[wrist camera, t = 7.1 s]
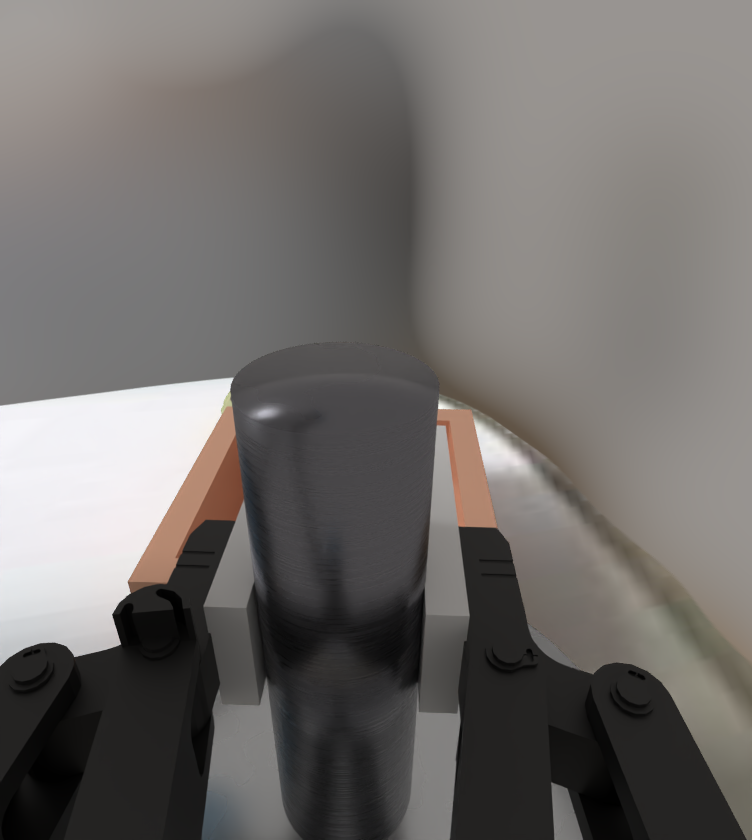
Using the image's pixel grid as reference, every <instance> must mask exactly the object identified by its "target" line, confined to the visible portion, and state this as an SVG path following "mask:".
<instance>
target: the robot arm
mask: <svg viewBox="0 0 752 840" xmlns="http://www.w3.org/2000/svg"><path fill="white" fill-rule="evenodd" d="M112 616H113V619H114V622H115V626H116V629H117V632H118V635H119V639H120V642H121V645H119V646H117V647H114V648H110V649H107V650H104V651H99V652H95V653H91V654H87V655H82V656H78V657H74V656H73V654H72V652H71V651H70V650H69V649H68V648H67V647H66V646H64V645H61V644H58V643H40V644H37V645H34V646H31V647H28V648H25V649H23V650H21V651H20V652H18V653H16V654H15V655H13V656H11V657H10V658H8V659H7V660H6V661H5V662H4V663H3V664H2V665H1V666H0V840H201V838H202V829H203V821H204V813H205V804H206V796H207V788H208V779H209V771H210V763H211V754H212V746H213V738H214V730H215V725H214V716H213V711H212V709H213V706H214V702H215V699H216V696H217V693H218V689H219V691H220V696H221V702H222V704H233V705H257V706H260V703H261V698H262V694H263V689H264V685H265V681H266V669H265V661H264V653H263V645H262V637H261V630H260V622H259V614H258V606H257V598H256V590H255V582H254V574H253V566H252V559H251V551H250V543H249V535H248V527H247V519H246V511H245V503H244V501H243V503H242V506H241V508H240V511H239V514H238V516H237V519H236V521H231V520H205V521H204V522H203V523H202V524H201V525H199V526H198V527H197V528H196V529H195V530H194V531H193V532H192V533H191V534H190V535H189V538H188V540H187V542H186V544H185V546H184V548H183V550H182V554H181V555H180V557H179V559H178V561H177V563H176V568H174V570H173V572H172V574H171V576H170V578H169V580H168V582H167V584H155V585H151V586H146V587H143V588H141V589H139V590H137V591H135V592H133V593H131V594H129V595H128V596H127V597H126V598H125V599H123V600H122V601H121V602H120V603H119V604H118V606H117V607H116V609H115V611H114V613H113V614H112ZM418 701H419V712H428V713H452V714H457V713H458V705H459V710H460V729H459V736H458V744H457V752H456V759H455V761H456V772H455V784H454V796H453V808H452V820H451V832H450V840H555V839H554V821H553V803H552V785H551V782H552V783H555V784H557V785H560V786H562V787H565V788H567V789H568V792H569V796H570V799H571V802H572V805H573V809H574V812H575V815H576V818H577V821H578V825H579V828H580V831H581V834H582V838H583V840H747V839H746V838H745V836H744V834H743V832H742V830H741V828H740V826H739V824H738V822H737V820H736V819H735V817H734V815H733V813H732V811H731V809H730V807H729V805H728V803H727V801H726V800H725V798H724V796H723V794H722V792H721V790H720V788H719V786H718V784H717V782H716V781H715V779H714V777H713V775H712V773H711V771H710V769H709V767H708V765H707V763H706V762H705V760H704V758H703V756H702V754H701V752H700V750H699V748H698V746H697V744H696V743H695V741H694V739H693V737H692V735H691V733H690V731H689V729H688V727H687V725H686V724H685V722H684V720H683V718H682V716H681V714H680V712H679V710H678V708H677V706H676V704H675V703H674V701H673V699H672V697H671V695H670V694H669V692H668V691H667V690H666V688H665V687H664V686H663V684H662V683H661V682H660V681H659V680H658V679H656V678H655V677H654V676H653V675H651V674H650V673H649V672H647V671H645V670H643V669H641V668H638V667H636V666H634V665H631V664H623V663H612V664H608V665H603V666H602V667H601V668H600V669H599V670H597V671H596V672H595V673H594V675H593V674H590V673H587V672H584V671H581V670H578V669H574V668H571V667H568V666H566V665H564V664H561V663H559V662H557V661H555V660H553V659H552V658H550V657H549V656H547V655H546V654H545V653H544V652H543V651H542V650H541V649H540V648H539V647H538V646H537V644H536V643H535V642H534V640H533V639H532V636H531V634H530V631H529V628H528V624H527V619H526V615H525V611H524V606H523V602H522V598H521V593H520V589H519V585H518V580H517V578H516V572H515V567H514V564H513V559H512V554H511V550H510V546H509V543H508V541H507V540H506V539H505V538H504V536H503V535H502V534H501V533H500V532H499V530H498V529H497V528H491V527H461V526H458V520H457V512H456V504H455V496H454V488H453V481H452V473H451V465H450V457H449V449H448V441H447V433H446V426H439V425H437V429H436V443H435V457H434V471H433V486H432V500H431V514H430V528H429V543H428V557H427V571H426V582H425V588H424V602H423V617H422V631H421V646H420V660H419V674H418Z"/></svg>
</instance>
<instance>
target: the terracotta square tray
mask: <svg viewBox="0 0 752 840" xmlns="http://www.w3.org/2000/svg"><path fill="white" fill-rule="evenodd" d="M437 425H439V426H446V433H447V441H448V449H449V457H450V465H451V473H452V481H453V488H454V496H455V504H456V512H457V520H458V526H461V527H491V528H497V524H496V519H495V515H494V510H493V506H492V501H491V497H490V492H489V488H488V483H487V479H486V474H485V470H484V465H483V461H482V456H481V452H480V447H479V443H478V438H477V434H476V429H475V425H474V420H473V416H472V411H471V410H450V409H438V415H437ZM243 501H244V495H243V488H242V480H241V472H240V464H239V456H238V448H237V440H236V432H235V424H234V416H233V409H232V406H227V407H226V408H225V410H224V412H223V414H222V416H221V417H220V419H219V421H218V423H217V424H216V426H215V428H214V430H213V431H212V433H211V435H210V437H209V439H208V440H207V442H206V444H205V446H204V447H203V449H202V451H201V453H200V455H199V456H198V458H197V460H196V462H195V463H194V465H193V467H192V469H191V470H190V472H189V474H188V476H187V478H186V479H185V481H184V483H183V485H182V486H181V488H180V490H179V492H178V494H177V495H176V497H175V499H174V501H173V502H172V504H171V506H170V508H169V509H168V511H167V513H166V515H165V517H164V518H163V520H162V522H161V524H160V525H159V527H158V529H157V531H156V533H155V534H154V536H153V538H152V540H151V541H150V543H149V545H148V547H147V548H146V550H145V552H144V554H143V556H142V557H141V559H140V561H139V563H138V564H137V566H136V568H135V570H134V572H133V573H132V575H131V577H130V579H129V580H128V584H129V588H130V592H131V593H133V592H135V591H137V590H139V589H141V588H143V587H146V586H151V585H155V584H167V582H168V580H169V578H170V576H171V574H172V572H173V570H174V568H176V563H177V561H178V559H179V557H180V555H181V554H182V550H183V548H184V546H185V544H186V542H187V540H188V538H189V535H190V534H191V533H192V532H193V531H194V530H195V529H196V528H197V527H198V526H199V525H201V524H202V523H203V522H204V521H205V520H231V521H236V519H237V516H238V514H239V511H240V508H241V506H242V503H243ZM497 529H498V528H497Z"/></svg>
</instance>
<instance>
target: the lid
mask: <svg viewBox="0 0 752 840" xmlns="http://www.w3.org/2000/svg"><path fill="white" fill-rule="evenodd" d="M230 393H231V401H232V409H233V416H234V424H235V432H236V440H237V448H238V456H239V464H240V472H241V480H242V488H243V495H244V503H245V511H246V519H247V527H248V535H249V543H250V551H251V559H252V566H253V574H254V582H255V590H256V598H257V606H258V614H259V622H260V630H261V637H262V645H263V653H264V661H265V669H266V681H265V685H264V689H263V694H262V698H261V703H260V706H257V705H233V704H222V702H221V696H220V691H219V689H218V693H217V696H216V699H215V702H214V706H213V709H212V711H213V716H214V725H215V730H214V738H213V746H212V754H211V763H210V771H209V779H208V788H207V796H206V804H205V813H204V821H203V829H202V838H201V840H450V832H451V820H452V808H453V796H454V784H455V772H456V761H455V759H456V752H457V744H458V736H459V729H460V710H459V705H458V713H457V714H452V713H428V712H419V701H418V674H419V660H420V646H421V631H422V617H423V602H424V588H425V582H426V571H427V557H428V543H429V528H430V514H431V500H432V486H433V471H434V457H435V443H436V429H437V415H438V400H439V382H438V378H437V376H436V374H435V373H434V371H433V370H432V369H431V368H430V367H429V366H428V365H426V364H425V363H424V362H422V361H420V360H419V359H417V358H415V357H413V356H411V355H409V354H406V353H404V352H401V351H398V350H395V349H391V348H387V347H383V346H378V345H371V344H363V343H352V342H350V343H349V342H327V343H314V344H306V345H300V346H295V347H290V348H286V349H282V350H279V351H276V352H273V353H270V354H267V355H265V356H262V357H260V358H258V359H256V360H254V361H253V362H251V363H249V364H248V365H247V366H245V367H244V368H243V369H242V370H241V371H239V372H238V374H237V375H236V376H235V378H234V379H233V381H232V384H231V389H230ZM527 624H528V623H527ZM528 628H529V631H530V634H531V636H532V639H533V640H534V642H535V643H536V644H537V646H538V647H539V648H540V649H541V650H542V651H543V652H544V653H545V654H546V655H547V656H549V657H550V658H552V659H553V660H555V661H557V662H559V663H561V664H564V665H566V666H568V667H571V668H574V669H578V668H577V666H576V665H575V664H574V663H573V662H572V661H571V660H570V659H569V658H568V657H567V656H566V655H565V654H564V653H563V652H562V651H560V650H559V649H558V648H557V647H556V646H555V645H554V644H553V643H552V642H551V641H550V640H549V639H548V638H546V637H545V636H544V635H542V634H541V633H540V632H539V631H537V630H536V629H535V628H533V627H532V626H531V625H530V624H528ZM578 670H579V669H578ZM551 785H552V803H553V821H554V839H555V840H583V838H582V834H581V831H580V828H579V825H578V821H577V818H576V815H575V812H574V809H573V805H572V802H571V799H570V796H569V792H568V789H567V788H565V787H562V786H560V785H557V784H555V783H552V782H551Z"/></svg>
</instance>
